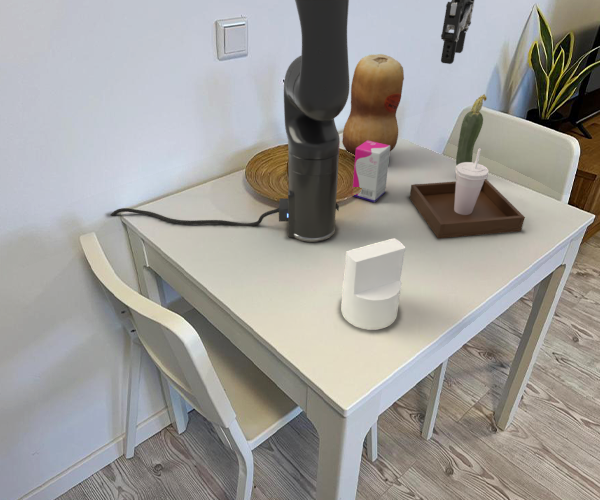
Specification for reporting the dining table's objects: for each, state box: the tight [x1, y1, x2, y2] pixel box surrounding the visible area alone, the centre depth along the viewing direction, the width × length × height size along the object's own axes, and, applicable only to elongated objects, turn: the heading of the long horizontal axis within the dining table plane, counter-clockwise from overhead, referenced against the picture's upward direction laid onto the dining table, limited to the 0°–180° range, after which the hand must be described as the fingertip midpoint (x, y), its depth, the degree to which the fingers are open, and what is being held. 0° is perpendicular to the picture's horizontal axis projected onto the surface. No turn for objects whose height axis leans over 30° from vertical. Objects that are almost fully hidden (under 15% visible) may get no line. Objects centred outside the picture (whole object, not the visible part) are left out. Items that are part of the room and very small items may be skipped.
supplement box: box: [352, 140, 391, 203], centre depth 111 cm, size 6×6×12 cm
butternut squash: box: [341, 53, 405, 155], centre depth 123 cm, size 14×13×25 cm
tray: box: [409, 178, 526, 240], centre depth 107 cm, size 18×17×3 cm
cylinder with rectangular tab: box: [340, 237, 406, 331], centre depth 79 cm, size 9×9×12 cm
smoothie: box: [454, 147, 490, 215], centre depth 104 cm, size 6×6×14 cm
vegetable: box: [455, 93, 488, 167], centre depth 116 cm, size 4×4×20 cm
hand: (451, 57), depth 97 cm, fingers open, 8 cm apart
